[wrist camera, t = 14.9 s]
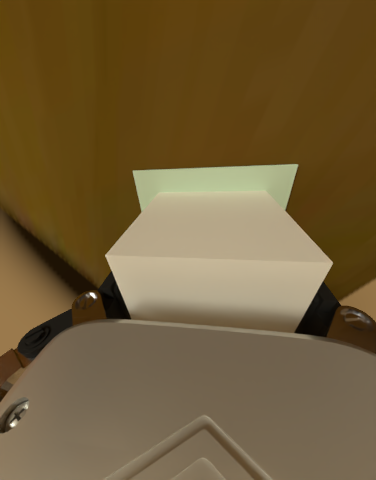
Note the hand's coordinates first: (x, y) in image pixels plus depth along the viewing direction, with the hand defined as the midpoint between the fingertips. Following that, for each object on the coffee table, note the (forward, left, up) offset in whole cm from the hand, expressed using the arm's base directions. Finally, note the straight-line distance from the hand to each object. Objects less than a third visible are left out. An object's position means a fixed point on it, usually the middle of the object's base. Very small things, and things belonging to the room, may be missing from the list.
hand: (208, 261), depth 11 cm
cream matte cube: (0, 0, -3) cm, 3 cm away
